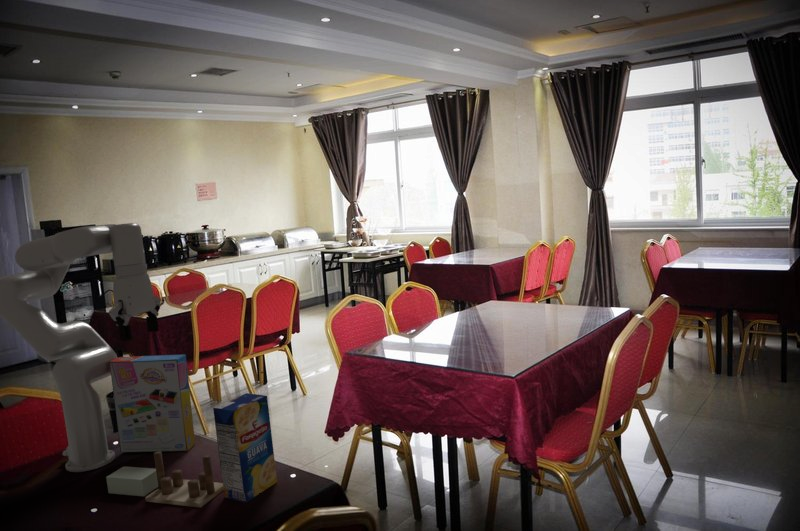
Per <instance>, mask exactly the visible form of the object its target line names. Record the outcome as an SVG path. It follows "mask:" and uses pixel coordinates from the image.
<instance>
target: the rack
mask: <svg viewBox="0 0 800 531" xmlns="http://www.w3.org/2000/svg"><path fill="white" fill-rule="evenodd" d="M153 457H154V466H155V467H154V468H155V469H156V474H157V481H158V487H157V488H156V490H153V491H152V492H150V494H147V495H146V496H144V497H145V502H148V503H156V504H163V505H164V504H165V505H166V504H167V505H175V506H182V507H183V506H185V507H193V508H203V507H204V506H205V505H206V504H207V503H209V502H210V501H211V500H213V499H214V498H215V497H216V496H218V495H219V494H220V493H222V492H224V489H223V482H215V481H214V475H213V474H214V473H213V466H212V460H211V459H212V458H211V454H207V455H204V456H202V464H203V472H200V473H198V479H195V478H194V479H184V478H183V470H182V469H179V468H178V469H175V470H172V471H171V477H170V476H166V475H165V474H166V473H165V467H164V461H163V452H161V451H159V452H153Z"/></svg>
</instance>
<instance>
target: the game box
mask: <svg viewBox="0 0 800 531" xmlns="http://www.w3.org/2000/svg"><path fill="white" fill-rule="evenodd" d="M109 363H110V370H111V375H110V377H111V385H112V392H113V393H112V394H113V402H114V408H115V416H116V426H117V431H118V432H117V433H118V441H119V442H118V443H119V452H120V453H150V452H151V453H155V452H159V451H161V452H162V453H163V452H188V451H190V450H191V449H192V448H193V447H194V445H195V444H196V440H195V438H196V437H195V430H194V429H195V428H194V421H193V411H192V410H193V409H192V402H191V390H190V383H189V374H188V373H189V371H188V365H187V364H188V362H187V355H186V354H165V355H160V354H159V355H137V356H135V355H134V356H132V355H131V356H119V357H118V356H117V358H116V359H114V360H112V361H110V362H109Z"/></svg>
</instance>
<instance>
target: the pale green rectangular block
mask: <svg viewBox="0 0 800 531" xmlns="http://www.w3.org/2000/svg"><path fill="white" fill-rule="evenodd" d="M105 479H106V484H107V492H108V494H113V495H114V494H116V495H125V496H135V497H136V496H137V497H147V496H148V495H150V494H151V493H152V492H154V491H155V489H156V490H157V489H158V481H157V474H156V468H153V467H151V468H150V467H137V466H122V467H120V468H118V469H117V470H116V471H114V472H112V473H111V474H109V475H107V476H106V477H105ZM149 493H150V494H149Z"/></svg>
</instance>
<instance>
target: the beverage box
mask: <svg viewBox="0 0 800 531" xmlns="http://www.w3.org/2000/svg"><path fill="white" fill-rule="evenodd" d="M212 409H213V410H212V411H213V418H214V425H215V426H214V427H215V433H216V434H215V435H216V440H217V449H218V450H217V451H218V457H219V464H220V465H219V466H220V473H221V479H222V482H221V483H223V489H224V490H223V495H224V498H226V499H231V500H233V501H238V502H242V503H245V502H246V503H247V502H249V501H250V500H252V499H253V498H256V497H257V496H258V495H260V494H261V493H263V492H264V491H265V490H267V489H269V488H270V487H272V486H274V485H275V484H277V483H278V479H277V469H276V461H275V460H276V459H275V453H274V452H275V451H274V444H273V443H274V442H273V435H272V426H271V425H272V424H271V419H270V409H269V401H268V395H265V394H264V395H263V394H255V393H249V392H248V393H246V392H245V393H243V394H241V395H239V396H237V397H234V398H232V399H231V400H227V401H226V402H223V403H221V404H219V405H217V406H214V407H212ZM259 493H260V494H259Z"/></svg>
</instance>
